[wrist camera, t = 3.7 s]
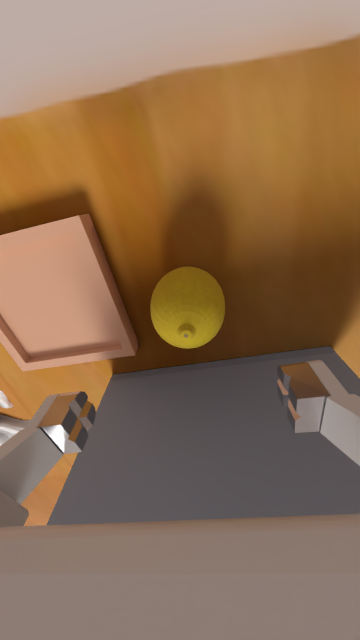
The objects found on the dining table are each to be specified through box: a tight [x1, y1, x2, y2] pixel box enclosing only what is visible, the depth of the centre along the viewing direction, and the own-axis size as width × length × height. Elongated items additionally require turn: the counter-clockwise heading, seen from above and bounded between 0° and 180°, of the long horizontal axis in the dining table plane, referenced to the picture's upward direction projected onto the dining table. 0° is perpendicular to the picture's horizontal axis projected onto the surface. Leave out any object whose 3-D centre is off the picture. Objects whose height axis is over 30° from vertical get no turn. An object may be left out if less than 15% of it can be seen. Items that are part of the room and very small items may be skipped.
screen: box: [47, 346, 360, 525], centre depth 19 cm, size 24×5×14 cm, turn 102°
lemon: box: [150, 266, 225, 349], centre depth 16 cm, size 6×6×8 cm
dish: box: [0, 213, 139, 371], centre depth 20 cm, size 13×13×2 cm
